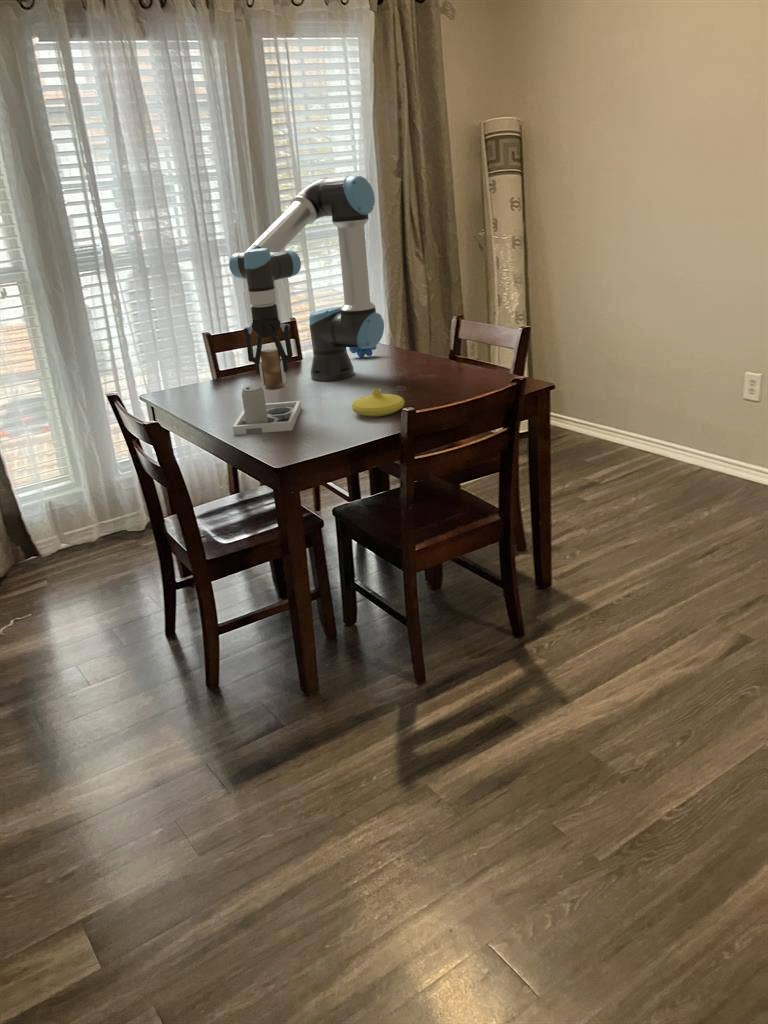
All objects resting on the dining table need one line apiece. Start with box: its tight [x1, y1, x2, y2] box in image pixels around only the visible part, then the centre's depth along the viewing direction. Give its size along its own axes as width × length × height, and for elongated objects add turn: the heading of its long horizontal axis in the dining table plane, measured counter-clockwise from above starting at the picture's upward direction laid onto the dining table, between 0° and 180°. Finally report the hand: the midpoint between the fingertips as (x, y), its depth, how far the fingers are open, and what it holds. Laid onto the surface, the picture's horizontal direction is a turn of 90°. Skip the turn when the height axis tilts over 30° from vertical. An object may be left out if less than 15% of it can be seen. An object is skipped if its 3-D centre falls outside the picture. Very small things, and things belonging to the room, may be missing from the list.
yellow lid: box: [351, 388, 405, 418], centre depth 255 cm, size 16×16×7 cm
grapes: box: [348, 345, 377, 358], centre depth 322 cm, size 12×7×12 cm, turn 85°
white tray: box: [232, 400, 302, 436], centre depth 257 cm, size 17×22×2 cm
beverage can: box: [241, 384, 269, 425], centre depth 251 cm, size 6×6×12 cm
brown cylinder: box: [260, 348, 285, 391], centre depth 257 cm, size 6×6×11 cm
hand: (274, 383), depth 258 cm, fingers closed on brown cylinder, 6 cm apart
